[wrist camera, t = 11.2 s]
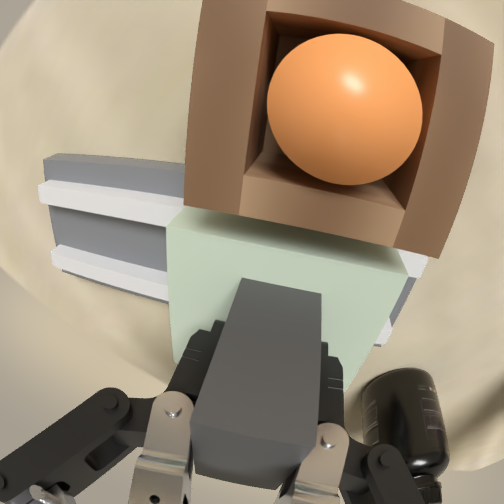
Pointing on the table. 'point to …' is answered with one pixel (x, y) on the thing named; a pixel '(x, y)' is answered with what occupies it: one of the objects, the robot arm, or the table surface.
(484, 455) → the table surface
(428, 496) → the supplement bottle
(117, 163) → the track
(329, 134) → the button
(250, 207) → the cabinet
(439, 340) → the table surface
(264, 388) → the carriage
